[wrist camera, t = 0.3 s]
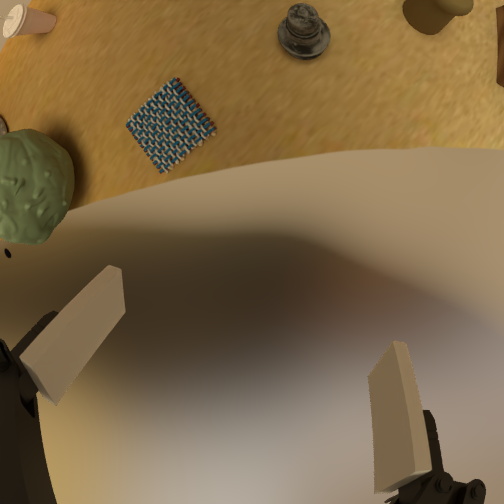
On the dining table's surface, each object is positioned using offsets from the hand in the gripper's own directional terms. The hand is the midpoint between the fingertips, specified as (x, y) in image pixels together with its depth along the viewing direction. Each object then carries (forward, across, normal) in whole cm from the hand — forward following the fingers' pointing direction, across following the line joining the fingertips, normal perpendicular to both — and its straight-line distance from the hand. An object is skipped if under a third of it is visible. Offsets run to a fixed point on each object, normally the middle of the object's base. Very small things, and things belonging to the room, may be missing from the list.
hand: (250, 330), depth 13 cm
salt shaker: (+28, -2, +19) cm, 34 cm away
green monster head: (+28, -38, -5) cm, 48 cm away
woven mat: (+28, -18, +4) cm, 33 cm away
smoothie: (+28, -48, +24) cm, 60 cm away
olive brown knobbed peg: (+28, +12, +29) cm, 42 cm away
